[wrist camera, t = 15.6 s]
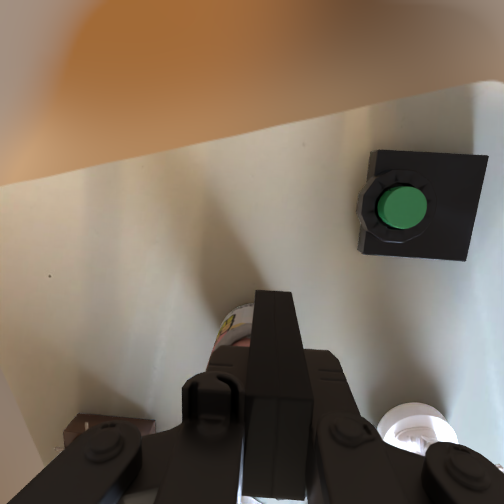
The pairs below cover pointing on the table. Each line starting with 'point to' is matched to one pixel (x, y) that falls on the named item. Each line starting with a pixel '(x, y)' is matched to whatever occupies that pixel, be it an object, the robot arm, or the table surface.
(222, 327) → the beverage can
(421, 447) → the character figurine
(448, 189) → the box
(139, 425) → the plate
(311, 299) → the table surface
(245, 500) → the container
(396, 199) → the open button
